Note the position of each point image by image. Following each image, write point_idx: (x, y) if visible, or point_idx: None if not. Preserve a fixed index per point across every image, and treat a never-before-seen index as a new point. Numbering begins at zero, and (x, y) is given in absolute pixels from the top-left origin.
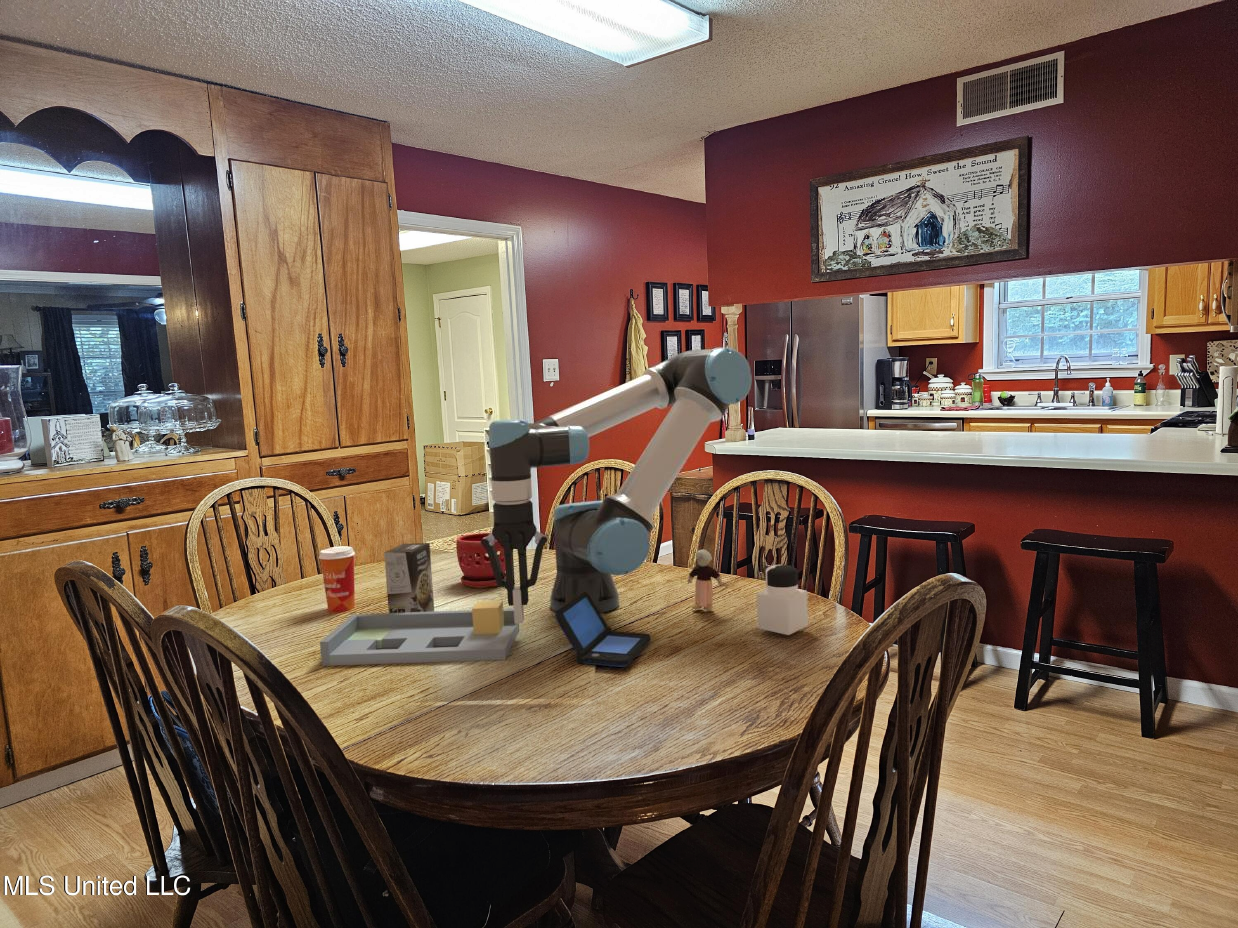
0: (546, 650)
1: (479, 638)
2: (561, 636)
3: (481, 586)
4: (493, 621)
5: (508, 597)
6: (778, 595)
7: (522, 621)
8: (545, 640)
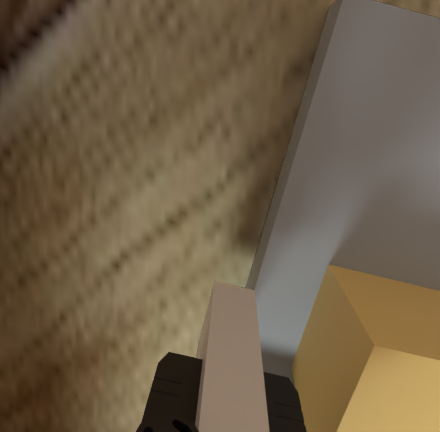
0: (125, 79)
1: (438, 221)
2: (54, 242)
3: None
4: (376, 301)
5: (299, 425)
6: None
7: (211, 294)
8: (123, 216)
